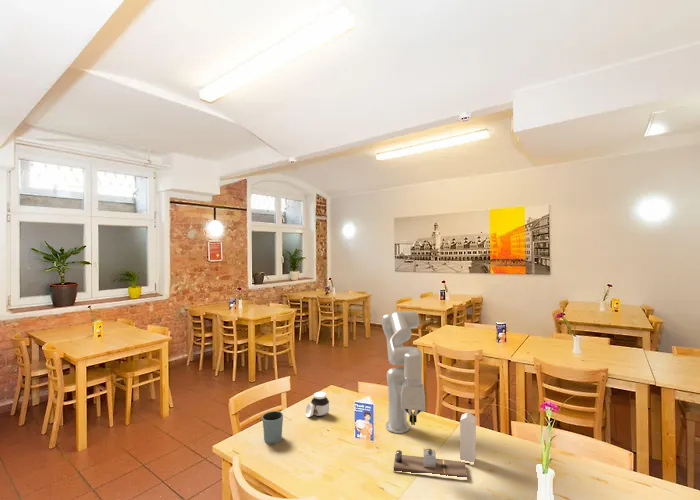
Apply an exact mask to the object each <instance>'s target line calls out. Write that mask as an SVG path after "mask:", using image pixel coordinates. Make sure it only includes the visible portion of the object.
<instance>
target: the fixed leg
mask: <svg viewBox="0 0 700 500" xmlns="http://www.w3.org/2000/svg"><path fill="white" fill-rule="evenodd" d="M395 454H396V461H397V462H399V463H400V462H402V455H403V452H402V450H400V449H399V450H396V451H395Z"/></svg>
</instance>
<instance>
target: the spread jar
mask: <svg viewBox="0 0 700 500" xmlns="http://www.w3.org/2000/svg"><path fill="white" fill-rule="evenodd" d="M329 412H330V400H329V398H327V393H326V392H324V391H317V392H314V394H313V398H312V399H311V400H310V403H308V404H307V405H306V406H305V417H307V418H311V417H313V416H314V417H315V418H324V417H326V416H327V415H328V414H329Z"/></svg>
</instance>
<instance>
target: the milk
mask: <svg viewBox="0 0 700 500" xmlns="http://www.w3.org/2000/svg"><path fill="white" fill-rule="evenodd" d="M459 424H460V425H459V460H460V459H461V460H465V461H469V462H474V461H475V462H476V460H475V457H476V455H477V454H476V453H477V445H476V443H477V438H476V437H477V436H476V435H477V434H476V433H477V431H476V429H477V418H476V416H475V415H474V414H473V413H471V412H470V409H468V410H467V412H465V413H462V414H461V416H460V422H459ZM476 458H477V457H476Z"/></svg>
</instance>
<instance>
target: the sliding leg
mask: <svg viewBox="0 0 700 500" xmlns="http://www.w3.org/2000/svg"><path fill="white" fill-rule="evenodd" d="M423 457H424V467H430V468H436V459H437V457H436V449H432V448H423Z"/></svg>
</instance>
